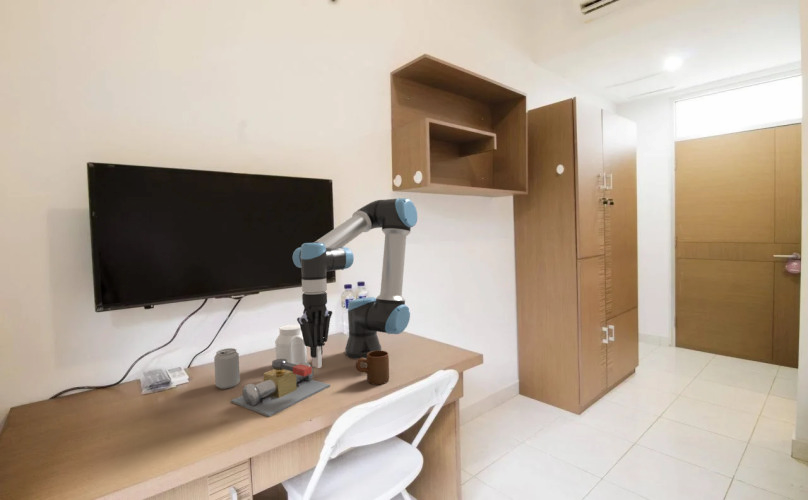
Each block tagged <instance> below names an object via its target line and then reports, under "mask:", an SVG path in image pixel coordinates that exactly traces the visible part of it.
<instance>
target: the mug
mask: <svg viewBox="0 0 808 500" xmlns="http://www.w3.org/2000/svg"><path fill="white" fill-rule="evenodd" d="M361 363H363V364H364V363H365V364H366V367H365V366H364V367H362V366H361ZM355 369H356V370H357V371H358V373H361V374H363V373H365V374H366V380H367V383H369V384H371V385H377V386H378V385H384V384H386V383H388V382H389V380H390V357H389V353H388V351H386V350H381V351H371V352H369V353H367V358H363V357H362V358H359V359H356V362H355Z"/></svg>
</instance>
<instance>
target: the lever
mask: <svg viewBox="0 0 808 500" xmlns="http://www.w3.org/2000/svg"><path fill="white" fill-rule="evenodd" d="M271 364H272V365H271V366H272V367H271V368H272V369H271V370H273V369H274V370H280V369H285V370H288V371H292V372H293V374H297V375H300V376H304V377H305V376H307V375H309V374H311V373H312V368H313V366H312V367H310V366H306V365H302V364H299V365H296V364H292V363H288V362H287V360H286V359H276V358H275V359H274V360H272V362H271Z"/></svg>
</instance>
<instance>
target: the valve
mask: <svg viewBox="0 0 808 500" xmlns="http://www.w3.org/2000/svg"><path fill="white" fill-rule="evenodd" d="M301 364H302V365H306V366H310V367H312V373H311V374H309V375H307V376H305V377H304V376H300V375H297V374H293V372H292V371H288V370H285V369H280V370H274V369H271V370H269V371H266V372H263V381H261V382H260V383H257V384H254V383H252V382H251V383H248V384H246V385H244V386H243V389H242V395H243V398H244V401H245V402H246V404H248V405H250V406H254V405H256V404H258V402H260V403H262V404H263V403H265V402H267V401H270V400H271V397H268V395H271V396H274V397H277V398H280V397H282V396H284V395H286V394H289V393H291V392H293V391H295V390H297V386H298V387H300V386H302V385H305V384H306V381H309V380H311V379H312V380H313V377H314V367H313V366H312V364H310V363H309V362H308V361H307V362H303V363H301ZM302 380H304V381H302Z"/></svg>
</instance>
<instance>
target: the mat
mask: <svg viewBox="0 0 808 500" xmlns="http://www.w3.org/2000/svg"><path fill="white" fill-rule="evenodd" d="M302 381H304V380H302ZM330 387H331V384H330V383H326V382H323V381H318V380H315V379H313V378H312V379H311V380H309V381H306V384H305V385H302V386H300V387H298V386H297V390H295V391H293V392H291V393H289V394H286V395H284V396H282V397H280V398H277V397H274V396H271V395H268V397H271V400H270V401H267V402H265V403H263V404H262V403H260V402H258V404H256V405H254V406H250V405H248V404H246V402H245V401H244V398H243V394H242V395H240V396H237V397H235V398H233V399H231V400H230V401H231V403H232V404H234V405H235V404H236V405H238V406H240V407H243V408H246V409H248V410H250V411H253V412H256V413H258V414H261V415H264V416H266V417H268V418H269V417H272V416H274V415H277V414H278V413H279V412H282V411H284V410H286V409H288V408H289V407H292V406H294V405H296V404H298V403H300V402H302V401H304V400H306V399H308V398H310V397H312V396H314V395H316V394H317V393H320V392H322V391H324V390H326V389H328V388H330ZM325 388H326V389H325Z"/></svg>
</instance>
